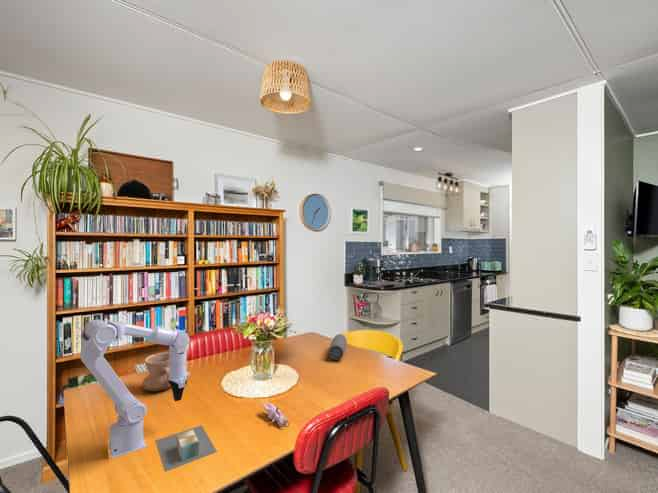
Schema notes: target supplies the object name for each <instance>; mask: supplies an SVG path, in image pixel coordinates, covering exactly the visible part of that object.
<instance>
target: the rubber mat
mask: <svg viewBox="0 0 658 493" xmlns="http://www.w3.org/2000/svg"><path fill="white" fill-rule="evenodd" d="M191 430H193V431H194V433H195V435H196V437H197V439H198V441H199V455H197V456H194V457H191V458H189V459H186V460H183V461H182V460H181V457H180V455H179V452H178V450H177V435H178V434H181V433H184V432H187V431H191ZM155 444H156V447H157V449H158V452H159V453H158V454H159V455H160V456H159V457H160V460H161V463H162V466H163V469H164V472H165V473H166V472H168V471H171V470H174V469H177V468H179V467H182V466H184V465H187V464H189V463H191V462H194V461H197V460H200V459H202V458H205V457H208V456H210V455H213V454H216V453H217V452H218V450H217V449H216V447H215V446H214V443H213V442H212V441H211V439H210V437H209V435H208V433H207V432H206V430H205V428H204V426H203V425H199V426H195V427H193V428H189V429H186V430H183V431H180V432H177V433H174V434H171V435H168V436H165V437H162V438H158V439H156V440H155Z"/></svg>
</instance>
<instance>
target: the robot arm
mask: <svg viewBox="0 0 658 493" xmlns="http://www.w3.org/2000/svg"><path fill="white" fill-rule="evenodd" d="M124 336H130V337H137V338H144V339H145V338H146V339H147V340H148V342H149V343H151V344H156V345H157V344H158V345H163V346H169V348H168V353H169V377H168V378H169V380H170V381H169V384H170V386H171V387H170V389H171V391H172V396H173V400H174V402H179V401H181V400H182V398H183V393H184V390H185V387H186V385H187V383H188V380H187V377H188V376H190V375H191V373H190V372H189V371H187V350H188V349H187V348H188V345H189V343H190V340H191V339H190V337H189V334H188V333H187V332H185V331H183V330H180V329H177V328H175V327H173V328H168V327H165V325H163V324H159V325H154V326H153V327H151V328H149V327H146V326H140V325H135V324H131V323H127V322H123V321H115V320H105V321H104V320H102V319H94V320H91V321H89V322H88V323H86V324H85V326H84V327H83V330H82V332H81V334H80V340H81V342H80V354H79V355H80V356H79V357H80V360H81V362H82V363H83V364H84V367H86V368H87V369H88V371H89V372H90V373H91V375H92V376H93V377H94V379H95V380H96V381H97V383H98V384H99V385H100V387H101V388H102V389H103V390H104V391H105V392H106V394H107V395H108V397H109V398H110V399H111V400H112V404H114V410H115V413H116V414H117V415H118V418H117V421H116V422H114V423H112V424H110V425H109V443H108V450H109V455H110V459H115V458H116V457H120V456H123V455H126V454H129V453H132V452H136V451H138V450H141V449H145V448H146V440H145V437H144V418H145V416H146V413H147V406H146V404H144V403H143V402H141V401H140V400H138V398H136V396H134V395H133V394H132V393H131V392H130V390H129V388H127V386H126V385H125V384H124V382H123V381H122V380H121V379H120V377H119V375H118V374H117V373H116V372H115V371H114V369H113V368H112V366H111V365H110V364H109V362H108V361H107V360H106V358H105V357H104V355H105V353H106V351H107V349H108V348H109V347H110V346H111V344H113V342H114V341H115V340H116V339H117V340H119V339H122V338H123V337H124Z"/></svg>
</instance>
